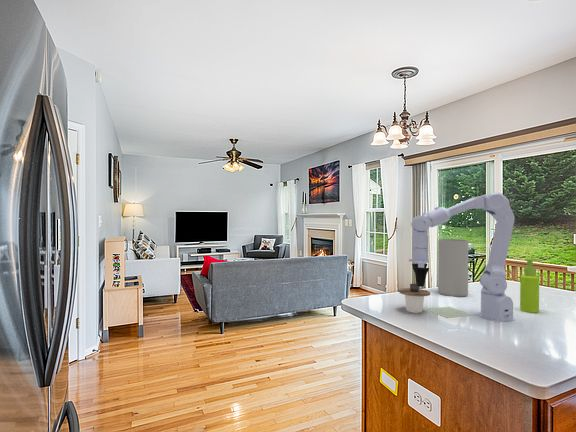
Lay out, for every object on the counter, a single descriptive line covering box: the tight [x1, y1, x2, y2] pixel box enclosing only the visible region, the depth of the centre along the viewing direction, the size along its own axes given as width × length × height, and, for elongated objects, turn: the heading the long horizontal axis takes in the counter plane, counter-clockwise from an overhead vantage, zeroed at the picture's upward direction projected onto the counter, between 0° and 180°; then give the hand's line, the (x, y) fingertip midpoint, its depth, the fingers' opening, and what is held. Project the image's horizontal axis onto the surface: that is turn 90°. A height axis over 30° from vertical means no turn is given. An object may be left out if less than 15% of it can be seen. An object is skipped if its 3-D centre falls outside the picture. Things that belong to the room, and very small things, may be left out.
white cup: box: [404, 295, 425, 314], centre depth 127 cm, size 7×7×7 cm
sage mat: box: [424, 306, 474, 319], centre depth 126 cm, size 12×12×1 cm
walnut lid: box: [398, 283, 431, 297], centre depth 127 cm, size 11×11×3 cm
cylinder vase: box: [437, 238, 469, 298], centre depth 157 cm, size 12×12×25 cm
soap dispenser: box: [519, 257, 543, 314], centre depth 129 cm, size 6×7×20 cm
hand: (420, 284), depth 127 cm, fingers open, 7 cm apart
